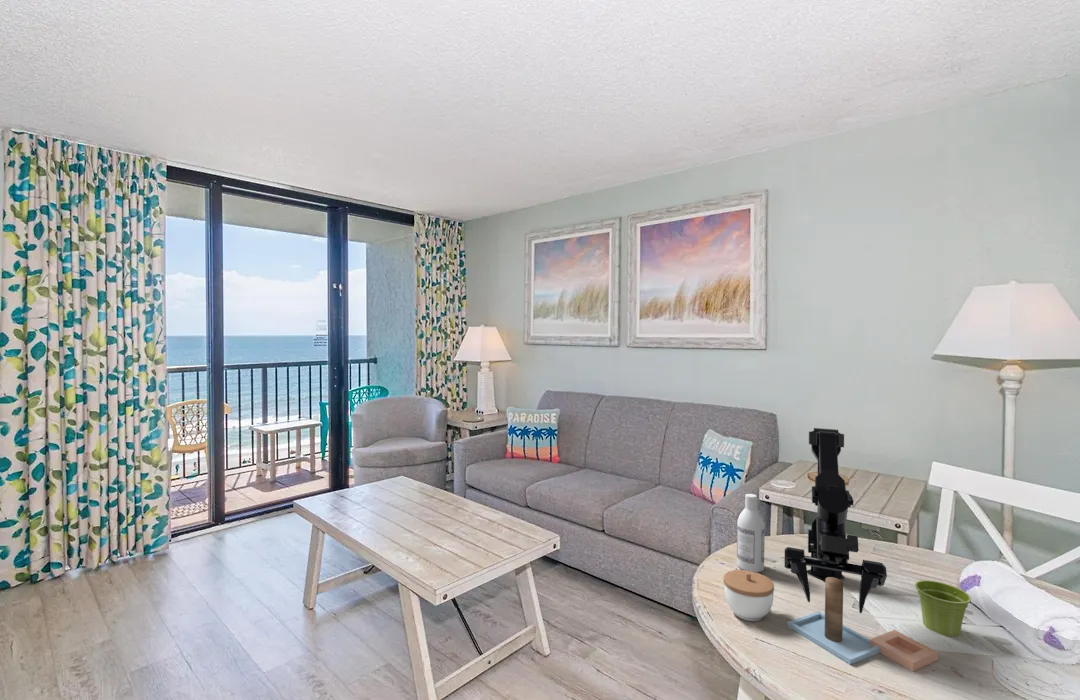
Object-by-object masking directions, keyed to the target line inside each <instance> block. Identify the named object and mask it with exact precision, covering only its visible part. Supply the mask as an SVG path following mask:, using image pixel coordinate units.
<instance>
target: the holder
mask: <svg viewBox="0 0 1080 700" xmlns="http://www.w3.org/2000/svg"><path fill="white" fill-rule="evenodd" d="M869 639H870V646H871V647H874V646H878V647H879V648H880V653H879V654H881V655H883V656H885V657H886V658H888V659H890V660H892V661H894V662H895V663H897V664H899V665H900V666H902V667H904V668H906V669H908V670H909V671H912V672H915V671H917V670H919V669H922V668H924V667H926V666H928V665H930V664H932V663H935V662H937V661H938V660H939V651H937V650H936V649H933V648H932V647H930V646H927V645H926V644H923V643H922V642H919V641H917V640H916V639H913V638H912V637H910V636H907V635H905V634H904V633H902V632H899V631H898V630H896V629H893V630H891V631H887V632H885V633H882V634H879V635H878V636H875V637H872V638H869Z"/></svg>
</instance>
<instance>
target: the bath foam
mask: <svg viewBox="0 0 1080 700" xmlns="http://www.w3.org/2000/svg"><path fill="white" fill-rule="evenodd" d="M744 501H745V502H744V503H745V504H744V508H743V510H742V511H741V512H740V514H739V516H738V517H737V523H736V565H737V567H738V568H739V569H740V570H747V571H752V572H756V573H761V572H763V571H764V570H765V541H766V540H765V536H766V534H765V527H766V526H765V522H764V519H763V517H762V515H761V513H760V512H759V510H758V508H757V507H758V496H757V495H756V494H754V493H746V494H745V497H744Z"/></svg>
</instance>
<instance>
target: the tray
mask: <svg viewBox="0 0 1080 700" xmlns="http://www.w3.org/2000/svg"><path fill="white" fill-rule="evenodd" d="M786 623H787V624H786V626H787V628H789V629H790V630H792V631H793V632H795V633H797V634H799V635H800V636H802V637H804V638H805V639H807V640H808V641H810V642H812V643H813V644H814V645H817V646H818V647H820V648H821V649H823V650H825V651H826V652H828V653H830V654H831V655H833V656H834V657H836V658H838V659H840V660H841V661H843V662H845V664H847V665H849V666H851V665H855V664H857V663H860V662H862V661H865V660H867V659H868V658H872V657H873V656H876V655H879V654H881V653H880V648H879V647H878V646H874V647H871V646H870V639H871V638H868V637H867V636H865V635H863V634H861V633H860V632H857V631H855V630H854V629H852V628H850V627H849V626H846V625H845V624H843V630H842V641H841V642H833V641H830V640H828V639H827V638H826V637H825V613H823V612H821V611H816V612H813V613H810V614H808V615H804V616H801V617H798V618H795V619H792V620H789V621H787V622H786Z"/></svg>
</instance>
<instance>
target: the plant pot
mask: <svg viewBox="0 0 1080 700" xmlns="http://www.w3.org/2000/svg"><path fill="white" fill-rule="evenodd" d="M914 586H915V589H916V590H917V594H918V596H919V601H920V608H921V609H920V610H921V617H922V623H923V626H924V627H925V628H927V630H929V631H931V632H934V633H936V634H939V635H942V636H946V637H957V636H960V635H961V631H962V625H963V622H964V617H965V614H966V613H965V612H966V609H967V608H968V607H969V604H970V603H971V602H972V597H971V596H970V595H969V594H968V593H967V592H966V591H964V590H963V589H961V588H959V587H957V586H953V585H951V584H948V583H945V582H940V581H935V580H924V579H923V580H918V581H916V582H915V583H914Z"/></svg>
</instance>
